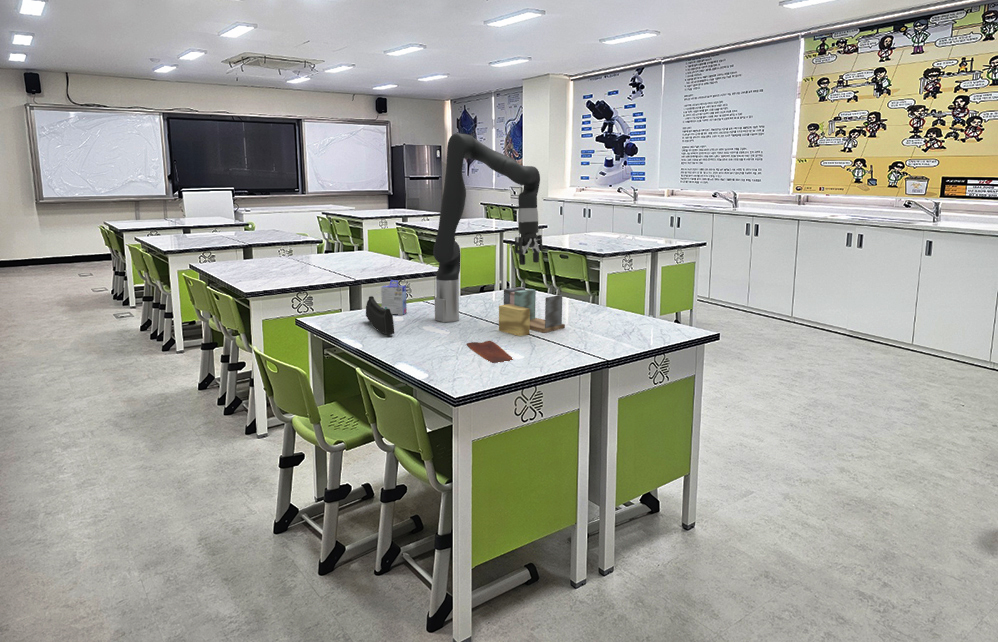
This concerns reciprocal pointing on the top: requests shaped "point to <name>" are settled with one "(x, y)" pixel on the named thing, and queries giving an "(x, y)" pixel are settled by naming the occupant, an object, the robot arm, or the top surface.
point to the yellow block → (514, 319)
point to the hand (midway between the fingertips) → (529, 263)
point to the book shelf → (527, 300)
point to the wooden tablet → (490, 351)
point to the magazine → (379, 317)
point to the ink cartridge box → (394, 298)
